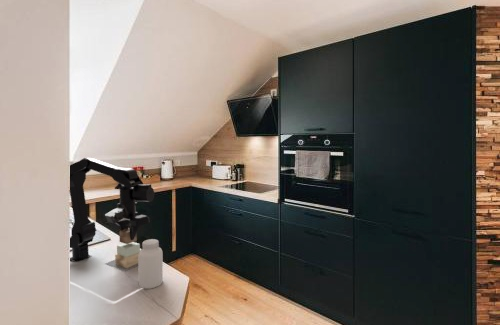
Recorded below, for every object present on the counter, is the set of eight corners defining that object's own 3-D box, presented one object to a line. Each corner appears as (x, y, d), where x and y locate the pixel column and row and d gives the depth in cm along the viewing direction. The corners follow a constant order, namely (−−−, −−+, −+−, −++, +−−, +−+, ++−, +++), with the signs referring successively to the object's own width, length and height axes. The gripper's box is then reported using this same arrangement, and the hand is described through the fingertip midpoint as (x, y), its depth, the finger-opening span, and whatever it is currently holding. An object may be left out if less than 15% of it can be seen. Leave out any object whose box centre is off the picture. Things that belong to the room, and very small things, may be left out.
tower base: (115, 264, 110) (115, 254, 109) (130, 257, 116) (130, 248, 115) (126, 268, 106) (126, 258, 106) (141, 261, 112) (141, 252, 112)
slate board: (104, 265, 110) (104, 263, 110) (126, 256, 119) (126, 255, 119) (125, 272, 103) (125, 271, 103) (147, 263, 112) (147, 261, 112)
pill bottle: (155, 290, 91) (154, 246, 90) (133, 287, 93) (132, 244, 92) (167, 279, 99) (166, 238, 98) (146, 276, 101) (146, 236, 100)
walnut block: (119, 241, 110) (119, 230, 109) (129, 238, 113) (129, 228, 113) (126, 244, 107) (126, 232, 107) (136, 240, 111) (136, 229, 111)
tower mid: (117, 254, 110) (117, 245, 109) (130, 249, 115) (130, 241, 115) (126, 257, 107) (126, 248, 106) (139, 252, 112) (139, 243, 112)
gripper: (94, 201, 107) (94, 240, 108) (124, 207, 98) (125, 249, 99) (119, 196, 117) (120, 232, 118) (150, 201, 107) (150, 240, 108)
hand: (128, 238), depth 110 cm, fingers closed on walnut block, 4 cm apart
